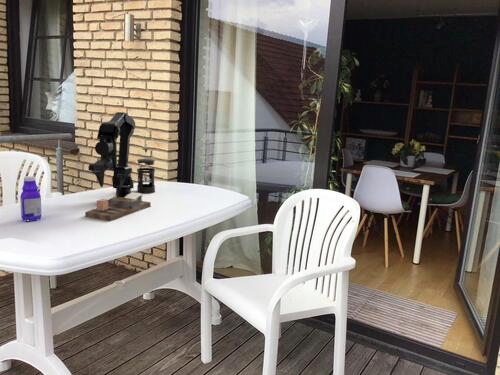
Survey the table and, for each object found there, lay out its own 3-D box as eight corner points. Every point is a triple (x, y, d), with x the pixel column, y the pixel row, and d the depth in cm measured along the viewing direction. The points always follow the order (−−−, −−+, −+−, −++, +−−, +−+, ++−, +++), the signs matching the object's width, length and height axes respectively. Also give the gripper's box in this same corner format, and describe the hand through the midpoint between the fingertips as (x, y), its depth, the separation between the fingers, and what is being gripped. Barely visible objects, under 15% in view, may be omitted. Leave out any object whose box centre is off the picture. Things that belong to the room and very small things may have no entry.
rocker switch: (124, 200, 206) (123, 197, 205) (132, 194, 211) (131, 192, 210) (135, 201, 204) (134, 199, 203) (142, 196, 209) (142, 193, 208)
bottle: (38, 216, 186) (36, 175, 182) (43, 219, 182) (41, 177, 178) (19, 219, 180) (16, 176, 177) (24, 223, 177) (22, 179, 173)
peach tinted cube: (96, 209, 191) (96, 200, 190) (102, 207, 194) (102, 198, 193) (102, 210, 190) (102, 201, 189) (108, 208, 193) (108, 199, 192)
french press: (148, 194, 232) (147, 150, 227) (132, 192, 235) (132, 148, 230) (160, 190, 243) (160, 147, 238) (145, 188, 246) (144, 146, 241)
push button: (110, 203, 201) (110, 198, 201) (116, 201, 205) (116, 196, 204) (131, 207, 197) (131, 201, 197) (136, 205, 201) (136, 199, 200)
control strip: (85, 216, 189) (84, 204, 187) (127, 202, 214) (127, 192, 213) (110, 221, 184) (110, 208, 183) (150, 206, 209) (150, 195, 208)
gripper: (79, 152, 190) (80, 189, 193) (116, 156, 184) (117, 193, 187) (96, 150, 200) (97, 184, 203) (132, 153, 194) (132, 189, 197)
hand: (110, 188), depth 197 cm, fingers open, 9 cm apart
